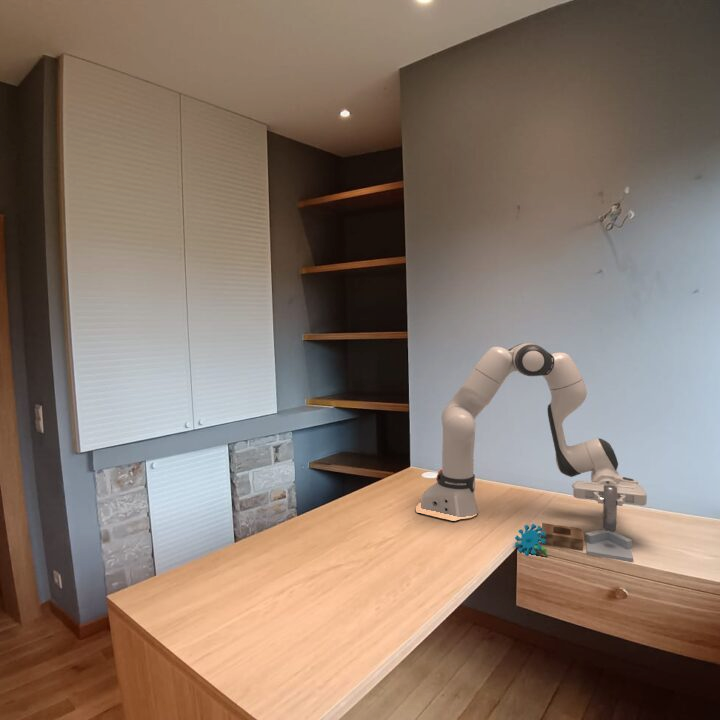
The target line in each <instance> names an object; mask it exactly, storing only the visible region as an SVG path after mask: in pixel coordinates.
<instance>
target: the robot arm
mask: <svg viewBox="0 0 720 720" xmlns="http://www.w3.org/2000/svg"><path fill="white" fill-rule="evenodd" d="M513 372H514V373H515V372H517V373H519V374H521V375H524V376H527V377H541V376H542V377H543V378H544V379H545V381H546V384H547V386H548V389H549V391H550V396H551V398H550V399H551V400H550V403H549V404H548V405H547V417H548V422H549V428H550V433H551V438H552V442H553V447H554V451H555V462H556V466H557V469H558V470H559V472H560V473H561V474H563V475H565V476H566V477H569V478H573V477H576V476H579V475H581V474H584V473H588V472H591V473H590V480H591V481H584V480H576V481H575V483H572V484H571V487H572V489H573V494H572V495H573V497H574V498H576V499H582V500H583V499H584V500H590V501H591V500H592V501H596V502H597V504H601V505H603V504H604V498H603V495H604V486H605V485H612V486H615V487H617V507H618V506H619V507H622V506H623V505H624V504H625V505H633V506H646V505H647V500H648V499H647V497H648V496H647V495H648V494H647V492H646V490H645V489H644V487H642V486H641V485H639V481H638V480H637V479H633V478H629V477H624V476H621V475H620V474H619V471H618V467H619V462H618V459H617V455H616V453H615V451H614V448H613V447H612V445H611V444H610V443H609V442H608V441H607V440H605V439H603V438H599V437H597V438H594V439H590V440H587V441H585V442H582V443H577V444H574V445H567V443H566V438H565V437H566V436H565V433H564V432H565V431H564V428H563V423H564V421H565V419H566V418H567V417H569V416H570V415H571V414H573V412H575V411H576V410H577V409H579V407H581V406H582V405H583V403H584V402H585V400H586V398H587V394H588V393H587V387H586V385H585V381H584V380H583V376H582V375H581V372H580V370H579V368H578V367H577V365H576V364H575V362H574V360H573V359H572V357H571V356H570V355H569V354H568V353H567V352H554V353H550V352H548V350H546V349H544V348H543V347H542V346H540V345H538V344H536V343H532V342H524V343H519V344H517V345H515V346H513V347H511V348H509V349H506V348H505V347H502V346H493V347H490V348H489V349H488V350H487V351H486V352H485V353H484V354H483V355H482V356H481V358H480V359H479V360H478V362H477V363H476V364H475V366H474V367H473V369H472V370H471V372H470V373H469V375H468V376H467V378H466V380H465V381H464V383H463V384H462V386H461V387H460V388H459V390H457V392H456V393H455V394H454V395H453V397H452V398H451V400H450V401H448V403H447V404H446V407H444V409H443V410H442V414H441V424H442V451H441V452H442V453H441V454H442V455H441V457H442V459H441V460H442V464H441V465H442V469H440V470H439V471H438V473H437V475H436V477H435V478H436V482H435V483H434V484H432V485H431V486H429V487H427V488H426V490H425V491H424V492H423V494H422V497H421V499H420V500H419V501H420V502H421V508H422V509H426V510H431V511H436V512H440V513H444V514H449V515H453V516H457V517H466V516H473V515H475V514H477V513H478V514H479V511H478V507H477V503H476V497H475V490H476V476H475V474H474V471H475V470H474V469H475V468H474V461H475V460H474V451H475V441H476V421H475V420H476V418H477V417H478V416H479V414H480V413H481V412H483V410H484V409H485V408H486V407H487V406H488V405H489V404H490V403H491V401H492V400H493V398H494V397H495V395H496V394H497V392H499V389H500V388H501V387H502V385H503V383H504V382H505V380H506V378H507V377H508V376H509V375H510V374H512V373H513Z"/></svg>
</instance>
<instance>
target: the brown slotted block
mask: <svg viewBox="0 0 720 720" xmlns="http://www.w3.org/2000/svg"><path fill="white" fill-rule="evenodd" d="M541 528H542V531H540V533H541V532H543V531H544V532H545V533H546V536H545V537H543V536H542V535H541V536H540V538H541V539H545V540H546V543H545V544H543V543H542V542H541V541H540V545H544V546H552V547H555V548H556V547H558V548H563V549H564V548H565V549H569V550H574V551H575V550H576V551H582V552H583V551H584V530H583V529H584V528H582V527H581V528H580V527H574V526H568V525H559V524H555V523H554V524H553V523H546V522H541Z"/></svg>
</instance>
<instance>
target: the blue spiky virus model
mask: <svg viewBox="0 0 720 720" xmlns="http://www.w3.org/2000/svg"><path fill="white" fill-rule="evenodd" d="M523 527H524V530H523V529H522V528H520V529H519V530H518V531H517V532H518V533H519V534H520V535H521V537H520V536H519V535H517V534H516V535H515V537H514V539H515V543H514V547H515V548H517V551H518V552H519V554H522V553H523V554H524V555H525V556H526V557H528V556H530V554H531V555H532V556H533V555H534V556H535V555H537V552H539V553H540V554H542V555H544V556H545V557H549V554H548V553H547V551H548V550H547V548H546V547H545V546H542V545H544V544H545V543H546V540H545V539H541V535H542V536H543V537H545V536H546V533H545V532H544V531H543V532H541V531H542V526H540V525H538V526H537V525H536V523H535V524H534V523H531V525H530V526H529V524H525V525H524V526H523ZM518 541H520V543H518ZM541 542H542V543H543V544H541Z"/></svg>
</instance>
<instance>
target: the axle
mask: <svg viewBox="0 0 720 720" xmlns="http://www.w3.org/2000/svg"><path fill="white" fill-rule="evenodd" d="M603 498H604V504H602V507H603V508H602V529H603V530H605V531H607V532H609V531H610V532H616V531H617V519H618V517H617V512H618V511H617V510H618V505H617V487H615V486H612V485H605V486H604V495H603Z"/></svg>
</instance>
